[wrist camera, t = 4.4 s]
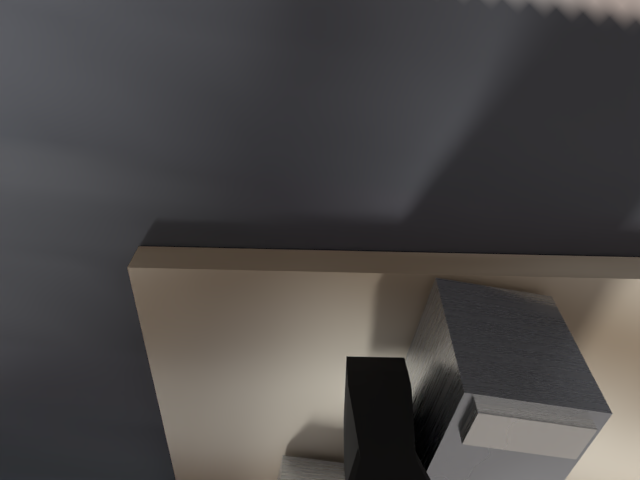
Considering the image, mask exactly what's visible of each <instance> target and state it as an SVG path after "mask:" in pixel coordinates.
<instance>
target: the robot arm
mask: <svg viewBox="0 0 640 480" xmlns="http://www.w3.org/2000/svg"><path fill="white" fill-rule="evenodd" d="M344 472H345V480H431V479H430V477H429V476H428V474H427V472H426V470H425V468H424V467H423V465H422V463H421V461H420V459H419V457H418V455H417V453H416V448H415V432H414V417H413V402H412V388H411V382H410V378H409V374H408V370H407V366H406V362H405V358H403V357H351V356H346V378H345V400H344Z"/></svg>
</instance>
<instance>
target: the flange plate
mask: <svg viewBox="0 0 640 480" xmlns="http://www.w3.org/2000/svg"><path fill="white" fill-rule="evenodd" d="M405 362H406V366H407V370H408V374H409V378H410V382H411V388H412V402H413V417H414V432H415V448H416V453H417V455H418V457H419V459H420V461H421V463H422V465H423V467H424V468H425V470H426V472H427V474H428V476H429V477H430V479H431V480H565V479H566V477H567V476H568V475H569V473H570V472H571V470H572V469H573V468H574V466H575V465H576V464H577V462H578V461H579V459H580V458H581V457H582V455H583V454H584V453H585V451H586V450H587V448H588V447H589V446H590V444H591V443H592V442H593V440H594V439H595V437H596V436H597V435H598V433H599V432H600V431H601V429H602V428H603V427H604V425H605V424H606V422H607V421H608V420H609V418H610V417H611V416H612V414H613V413H612V412H611V410H610V408H609V406H608V404H607V402H606V400H605V398H604V396H603V394H602V392H601V390H600V388H599V386H598V385H597V383H596V381H595V379H594V377H593V375H592V373H591V371H590V369H589V367H588V365H587V363H586V361H585V360H584V358H583V356H582V354H581V352H580V350H579V348H578V346H577V344H576V342H575V340H574V338H573V336H572V334H571V333H570V331H569V329H568V327H567V325H566V323H565V321H564V319H563V317H562V315H561V313H560V311H559V309H558V308H557V306H556V304H555V302H554V300H553V298H552V296H547V295H541V294H535V293H528V292H522V291H516V290H509V289H503V288H497V287H491V286H484V285H478V284H472V283H466V282H459V281H453V280H447V279H441V278H435V281H434V283H433V286H432V289H431V291H430V294H429V297H428V299H427V302H426V305H425V307H424V310H423V313H422V315H421V318H420V321H419V323H418V326H417V329H416V331H415V334H414V337H413V339H412V342H411V345H410V348H409V350H408V353H407V356H406V358H405ZM277 480H345V472H344V463H341V462H333V461H325V460H318V459H310V458H302V457H295V456H287V455H283V456H282V461H281V465H280V470H279V474H278V478H277Z"/></svg>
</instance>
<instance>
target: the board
mask: <svg viewBox="0 0 640 480" xmlns="http://www.w3.org/2000/svg"><path fill="white" fill-rule="evenodd" d="M127 269H128V273H129V277H130V282H131V286H132V290H133V295H134V299H135V304H136V308H137V312H138V317H139V321H140V325H141V330H142V334H143V338H144V343H145V347H146V352H147V356H148V360H149V365H150V369H151V373H152V378H153V382H154V386H155V391H156V395H157V400H158V404H159V408H160V413H161V417H162V421H163V426H164V430H165V435H166V439H167V443H168V448H169V452H170V456H171V461H172V465H173V469H174V474H175V478H176V480H277V478H278V474H279V470H280V465H281V461H282V456H283V455H287V456H295V457H302V458H310V459H318V460H325V461H333V462H341V463H344V400H345V378H346V356H351V357H403V358H406V356H407V353H408V350H409V348H410V345H411V342H412V339H413V337H414V334H415V331H416V329H417V326H418V323H419V321H420V318H421V315H422V313H423V310H424V307H425V305H426V302H427V299H428V297H429V294H430V291H431V289H432V286H433V283H434V281H435V278H441V279H447V280H453V281H459V282H466V283H472V284H478V285H484V286H491V287H497V288H503V289H509V290H516V291H522V292H528V293H535V294H541V295H547V296H552V298H553V300H554V302H555V304H556V306H557V308H558V309H559V311H560V313H561V315H562V317H563V319H564V321H565V323H566V325H567V327H568V329H569V331H570V333H571V334H572V336H573V338H574V340H575V342H576V344H577V346H578V348H579V350H580V352H581V354H582V356H583V358H584V360H585V361H586V363H587V365H588V367H589V369H590V371H591V373H592V375H593V377H594V379H595V381H596V383H597V385H598V386H599V388H600V390H601V392H602V394H603V396H604V398H605V400H606V402H607V404H608V406H609V408H610V410H611V412H612V413H613V414H612V416H611V417H610V418H609V420H608V421H607V422H606V424H605V425H604V427H603V428H602V429H601V431H600V432H599V433H598V435H597V436H596V437H595V439H594V440H593V442H592V443H591V444H590V446H589V447H588V448H587V450H586V451H585V453H584V454H583V455H582V457H581V458H580V459H579V461H578V462H577V464H576V465H575V466H574V468H573V469H572V470H571V472H570V473H569V475H568V476H567V477H566V479H565V480H640V257H605V256H559V255H514V254H469V253H423V252H378V251H332V250H287V249H241V248H196V247H150V246H139V247H138V249H137V250H136V252H135V254H134V256H133V258H132V260H131V262H130V263H129V265H128V267H127Z"/></svg>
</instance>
